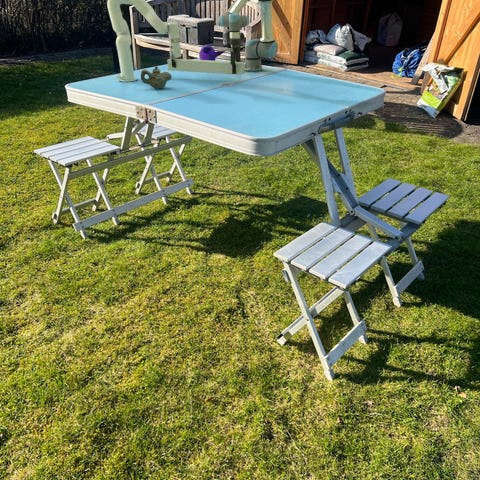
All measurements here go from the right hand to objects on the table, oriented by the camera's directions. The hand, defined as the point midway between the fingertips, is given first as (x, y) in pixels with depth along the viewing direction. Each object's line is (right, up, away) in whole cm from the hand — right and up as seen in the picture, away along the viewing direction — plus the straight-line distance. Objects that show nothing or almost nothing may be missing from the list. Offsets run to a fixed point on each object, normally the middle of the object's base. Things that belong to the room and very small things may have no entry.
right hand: (235, 72), depth 326 cm
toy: (-23, +33, +69) cm, 80 cm away
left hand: (-46, +10, +14) cm, 49 cm away
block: (-23, +4, +8) cm, 24 cm away
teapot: (-55, -16, -12) cm, 58 cm away
